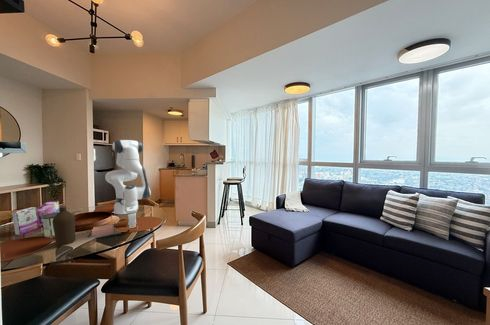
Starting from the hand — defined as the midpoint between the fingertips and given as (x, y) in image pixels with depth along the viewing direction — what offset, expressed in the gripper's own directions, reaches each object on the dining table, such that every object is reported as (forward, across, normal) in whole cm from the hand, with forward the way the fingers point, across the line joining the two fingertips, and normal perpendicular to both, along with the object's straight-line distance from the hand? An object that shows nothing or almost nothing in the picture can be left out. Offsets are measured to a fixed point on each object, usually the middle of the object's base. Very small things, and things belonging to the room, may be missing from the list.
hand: (132, 225), depth 153 cm
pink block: (+2, 0, -18) cm, 18 cm away
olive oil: (+3, +4, -38) cm, 38 cm away
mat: (+2, 0, -11) cm, 11 cm away
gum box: (+3, -48, -59) cm, 76 cm away
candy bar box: (+3, -30, -66) cm, 73 cm away
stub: (+2, 0, 0) cm, 2 cm away
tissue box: (+3, -16, -48) cm, 51 cm away
